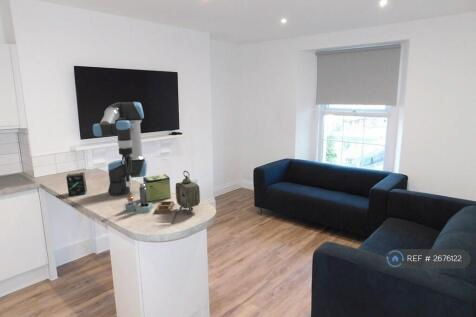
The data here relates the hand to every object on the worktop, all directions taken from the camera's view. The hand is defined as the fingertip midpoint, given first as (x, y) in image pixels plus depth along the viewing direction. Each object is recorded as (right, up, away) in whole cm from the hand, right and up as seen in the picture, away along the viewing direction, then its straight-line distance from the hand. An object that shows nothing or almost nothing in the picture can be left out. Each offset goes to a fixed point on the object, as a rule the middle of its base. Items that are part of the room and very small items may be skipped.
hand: (129, 186), depth 189 cm
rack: (+20, -15, +5) cm, 26 cm away
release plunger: (0, -12, +3) cm, 12 cm away
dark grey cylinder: (+8, -15, +3) cm, 17 cm away
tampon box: (-52, -9, +42) cm, 67 cm away
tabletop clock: (+35, -15, +3) cm, 39 cm away
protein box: (+11, -11, +25) cm, 30 cm away
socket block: (+5, -16, +4) cm, 17 cm away
